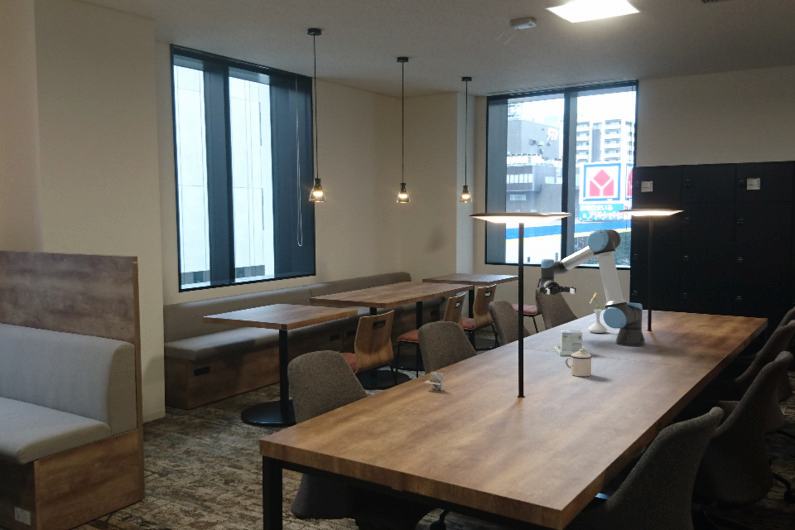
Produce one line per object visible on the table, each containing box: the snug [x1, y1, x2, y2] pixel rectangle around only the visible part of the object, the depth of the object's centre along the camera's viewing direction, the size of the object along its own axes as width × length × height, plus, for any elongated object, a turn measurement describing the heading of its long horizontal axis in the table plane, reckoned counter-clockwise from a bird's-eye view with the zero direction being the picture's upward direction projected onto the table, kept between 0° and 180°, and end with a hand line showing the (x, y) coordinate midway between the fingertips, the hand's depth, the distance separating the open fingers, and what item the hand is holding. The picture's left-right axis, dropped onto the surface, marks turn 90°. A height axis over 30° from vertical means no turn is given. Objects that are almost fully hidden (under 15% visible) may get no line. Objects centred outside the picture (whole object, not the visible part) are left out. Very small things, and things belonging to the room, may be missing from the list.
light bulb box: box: [559, 329, 583, 352], centre depth 354 cm, size 11×7×11 cm, turn 85°
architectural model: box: [424, 371, 444, 392], centre depth 281 cm, size 3×7×7 cm, turn 61°
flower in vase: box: [587, 291, 608, 334], centre depth 414 cm, size 13×11×25 cm
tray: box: [553, 345, 590, 357], centre depth 355 cm, size 15×17×2 cm
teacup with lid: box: [564, 349, 593, 377], centre depth 306 cm, size 12×9×12 cm
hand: (561, 291), depth 369 cm, fingers open, 13 cm apart
